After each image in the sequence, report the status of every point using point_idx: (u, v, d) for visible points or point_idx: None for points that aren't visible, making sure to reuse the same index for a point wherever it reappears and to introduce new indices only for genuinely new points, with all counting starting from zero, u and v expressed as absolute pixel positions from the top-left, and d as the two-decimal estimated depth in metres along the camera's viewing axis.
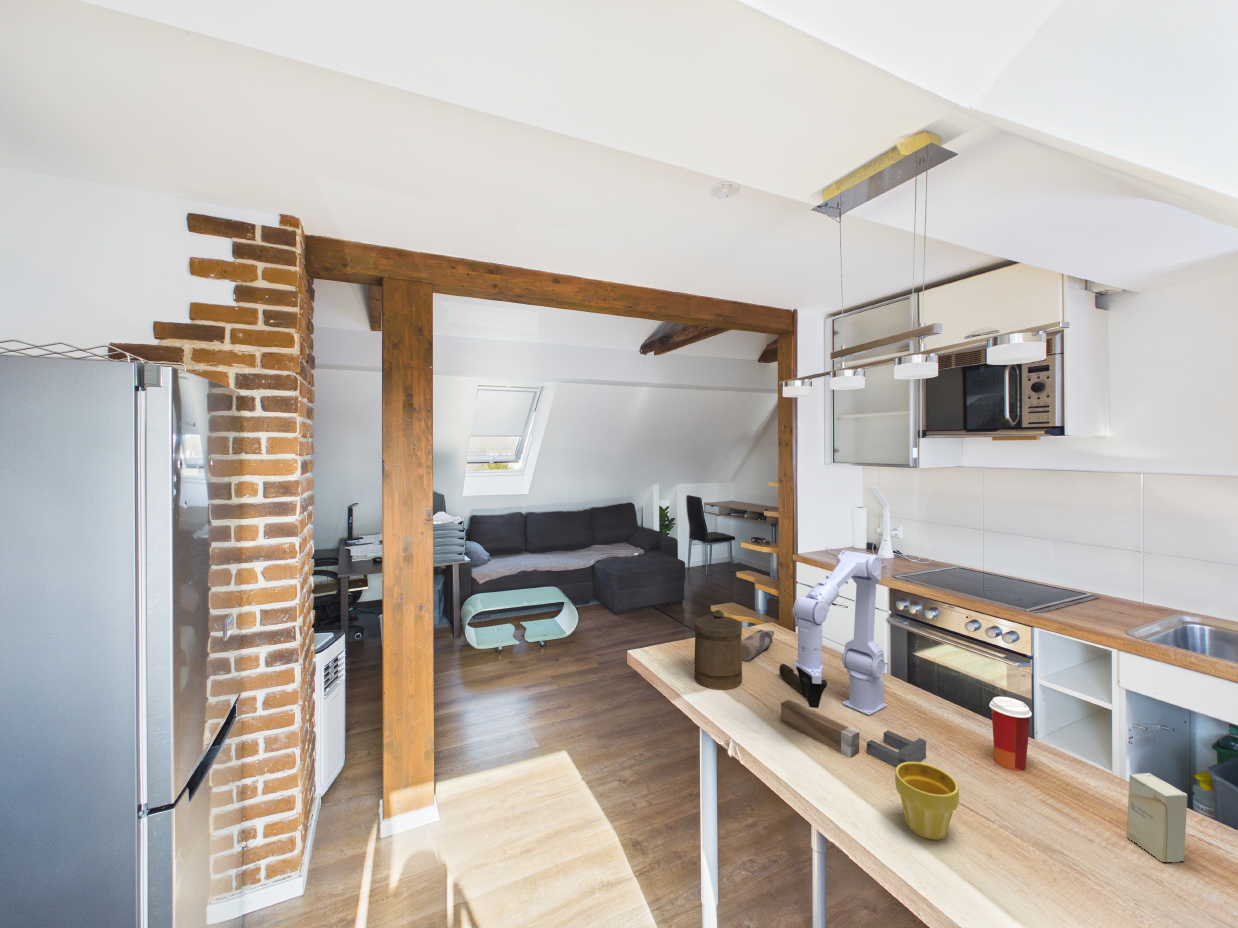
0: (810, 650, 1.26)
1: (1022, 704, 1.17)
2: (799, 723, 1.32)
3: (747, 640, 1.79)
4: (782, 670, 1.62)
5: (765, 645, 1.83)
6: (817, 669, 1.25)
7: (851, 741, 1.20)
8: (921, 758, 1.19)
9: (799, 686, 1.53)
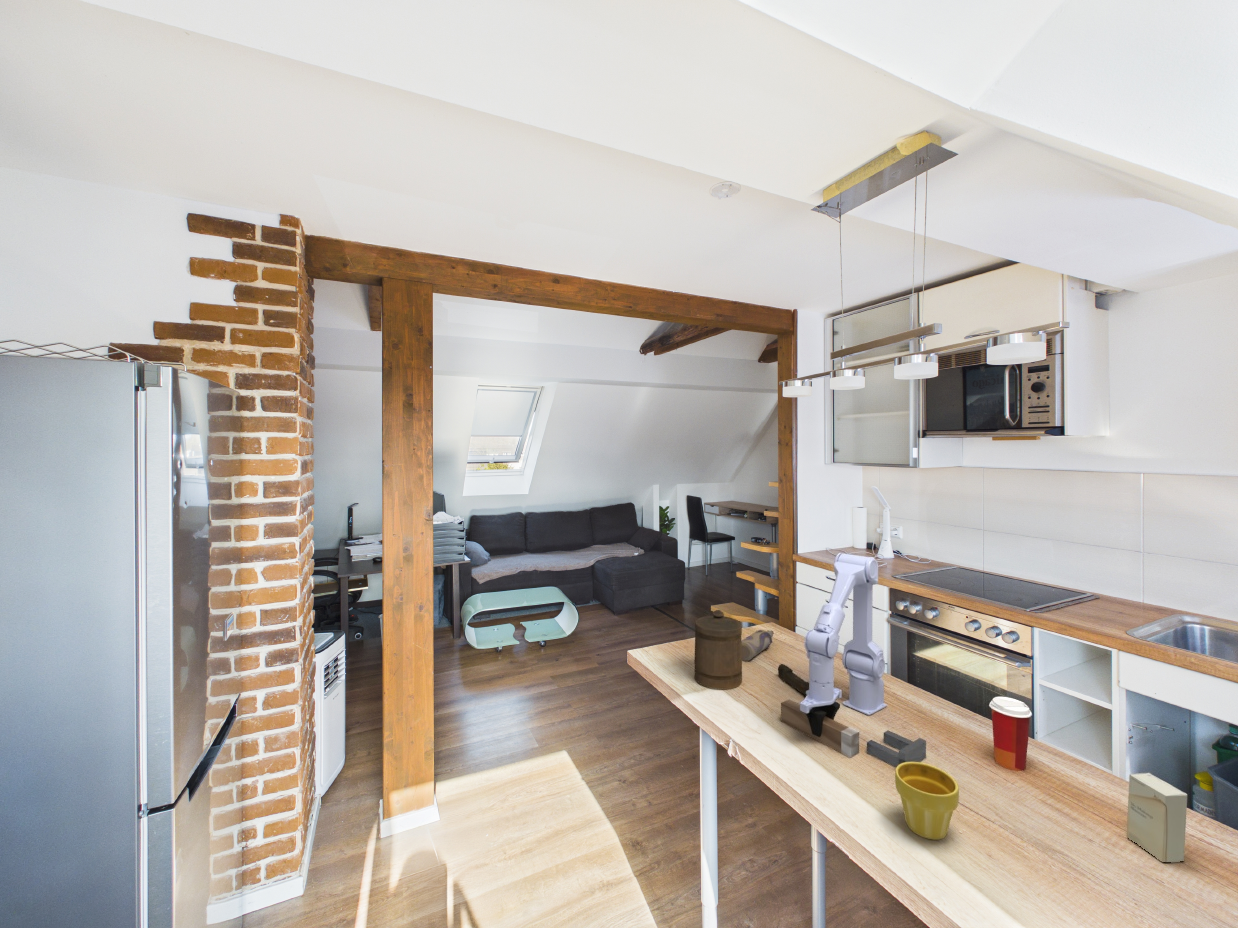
0: (812, 681, 1.27)
1: (1022, 704, 1.17)
2: (799, 723, 1.32)
3: (747, 640, 1.79)
4: (781, 670, 1.62)
5: (765, 645, 1.83)
6: (818, 702, 1.26)
7: (851, 741, 1.20)
8: (921, 758, 1.19)
9: (799, 686, 1.52)
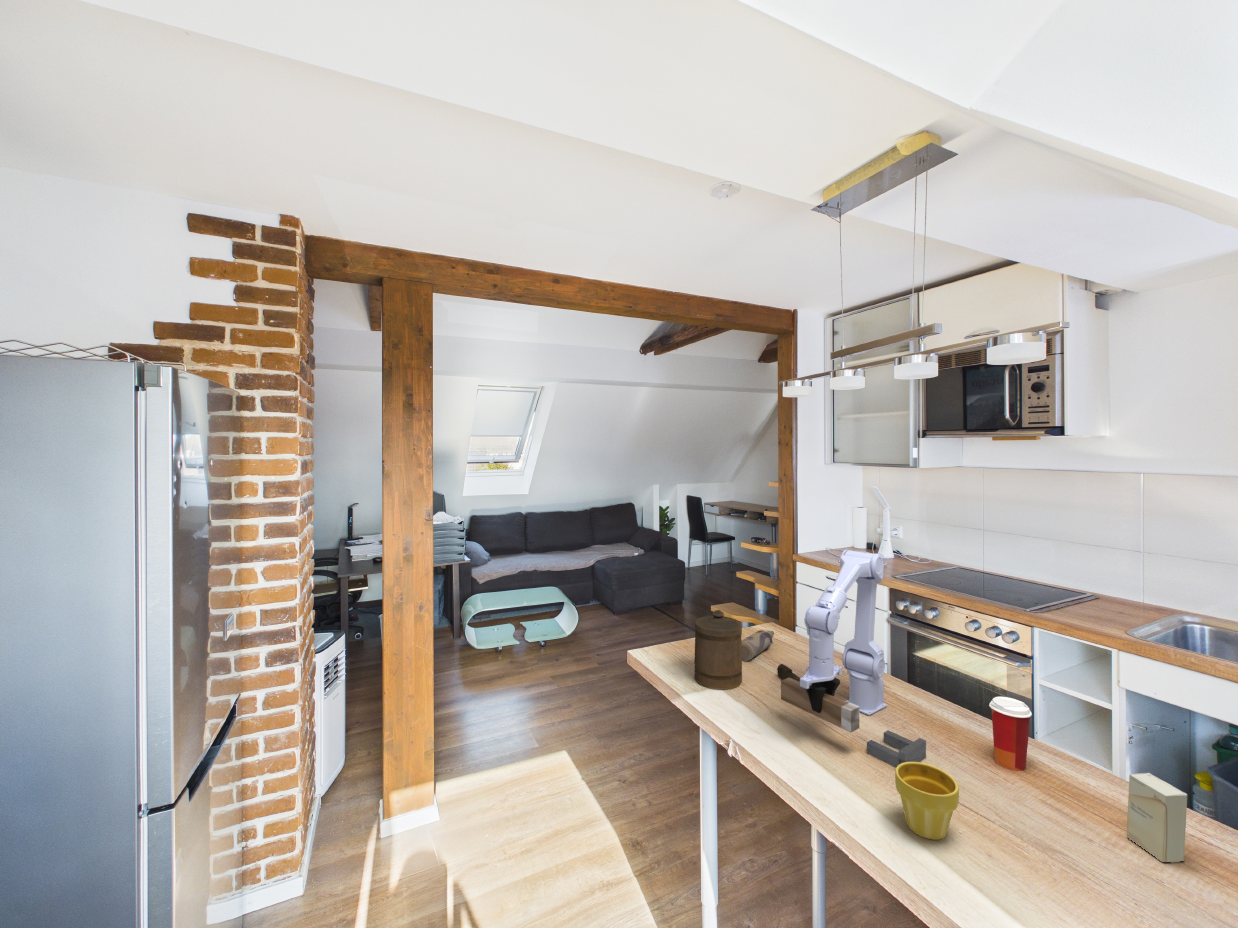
0: (812, 657, 1.27)
1: (1022, 704, 1.17)
2: (799, 700, 1.32)
3: (747, 640, 1.79)
4: (780, 670, 1.62)
5: (765, 645, 1.83)
6: (818, 678, 1.26)
7: (851, 716, 1.20)
8: (921, 758, 1.19)
9: None
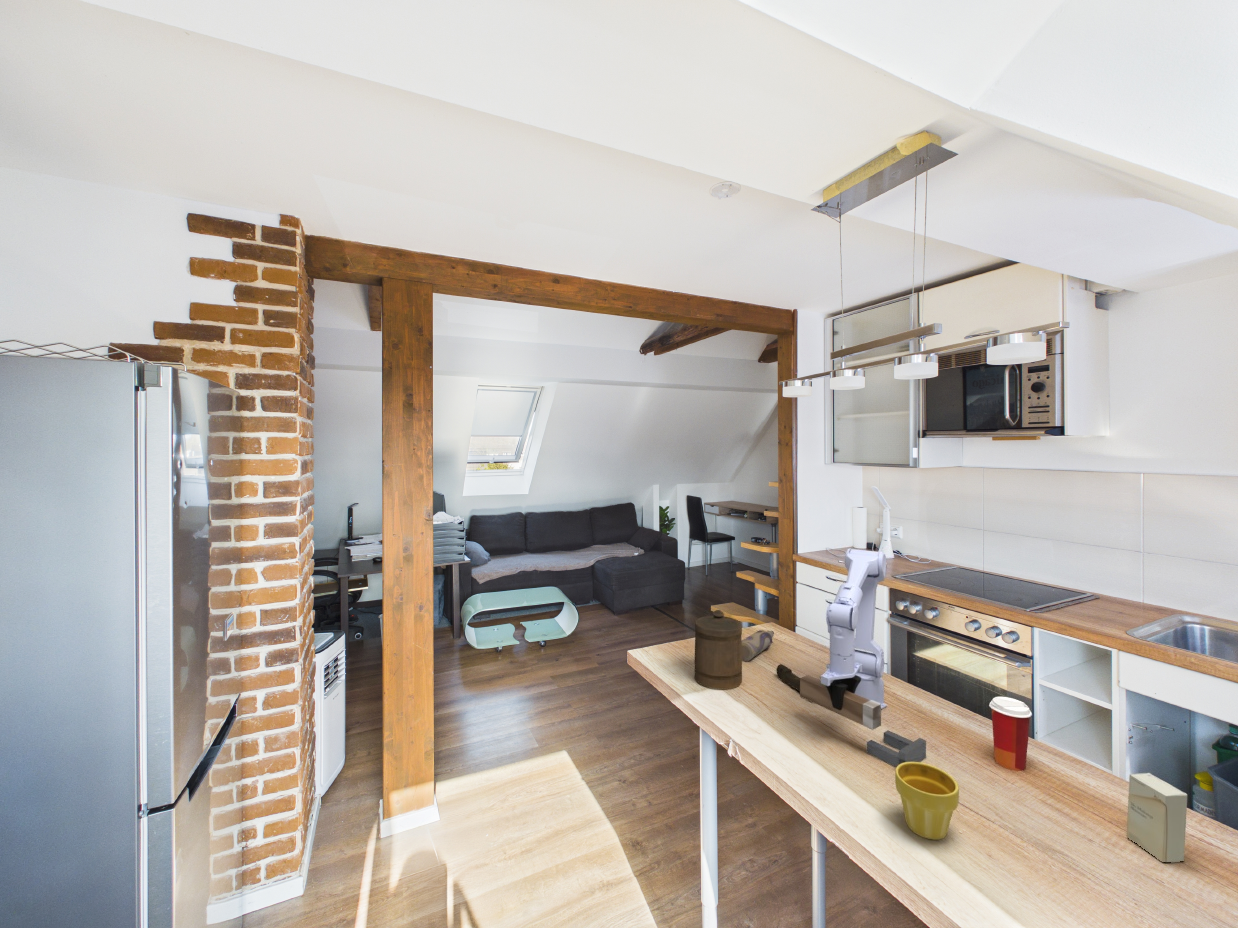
0: (833, 654, 1.27)
1: (1022, 704, 1.17)
2: (819, 698, 1.31)
3: (747, 640, 1.79)
4: (780, 671, 1.62)
5: (765, 645, 1.83)
6: (839, 675, 1.25)
7: (873, 713, 1.20)
8: (921, 758, 1.19)
9: (799, 686, 1.52)
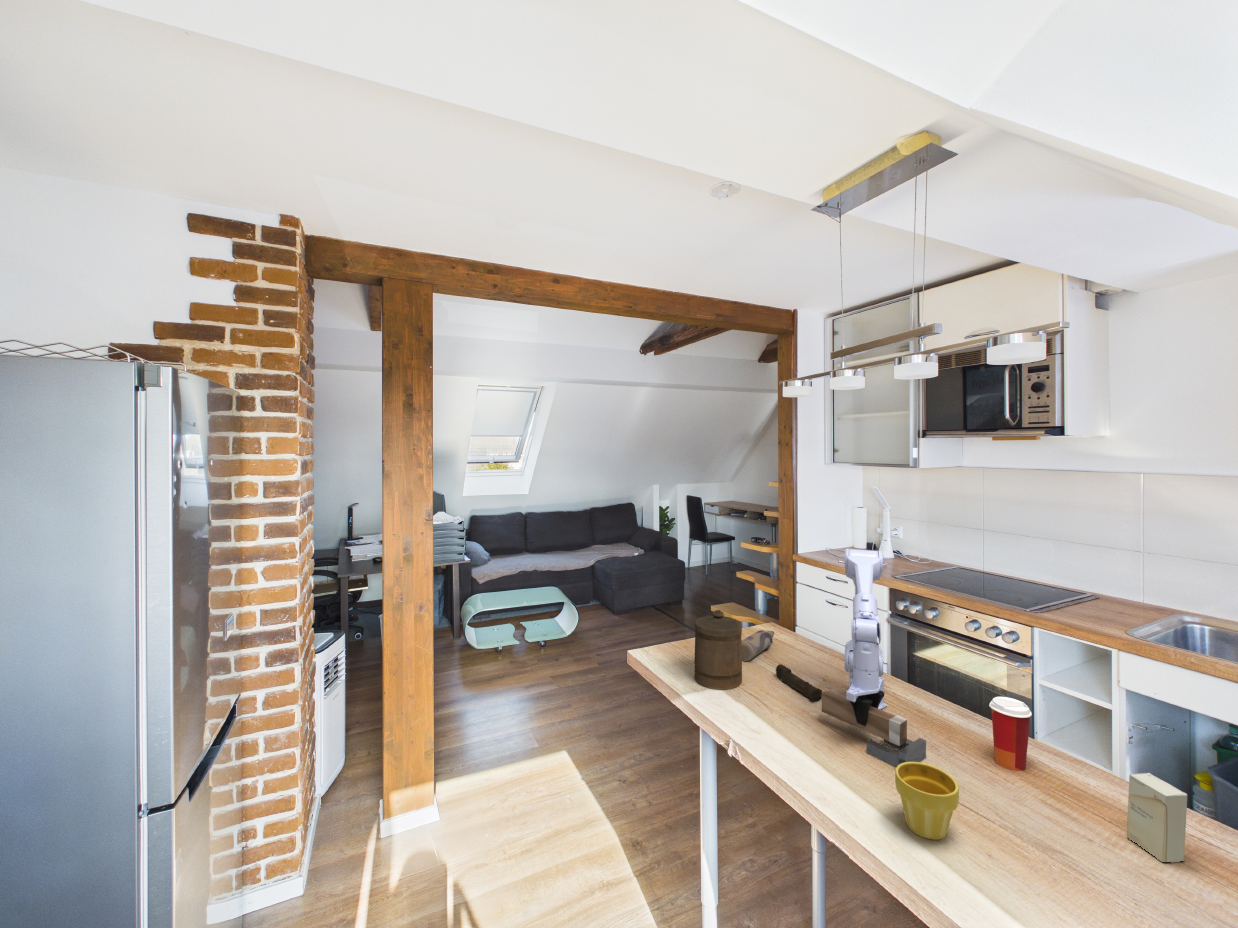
0: (858, 669, 1.26)
1: (1022, 704, 1.17)
2: (842, 713, 1.30)
3: (747, 640, 1.79)
4: (779, 671, 1.62)
5: (765, 645, 1.83)
6: (864, 690, 1.24)
7: (900, 729, 1.19)
8: (921, 758, 1.19)
9: (799, 686, 1.52)
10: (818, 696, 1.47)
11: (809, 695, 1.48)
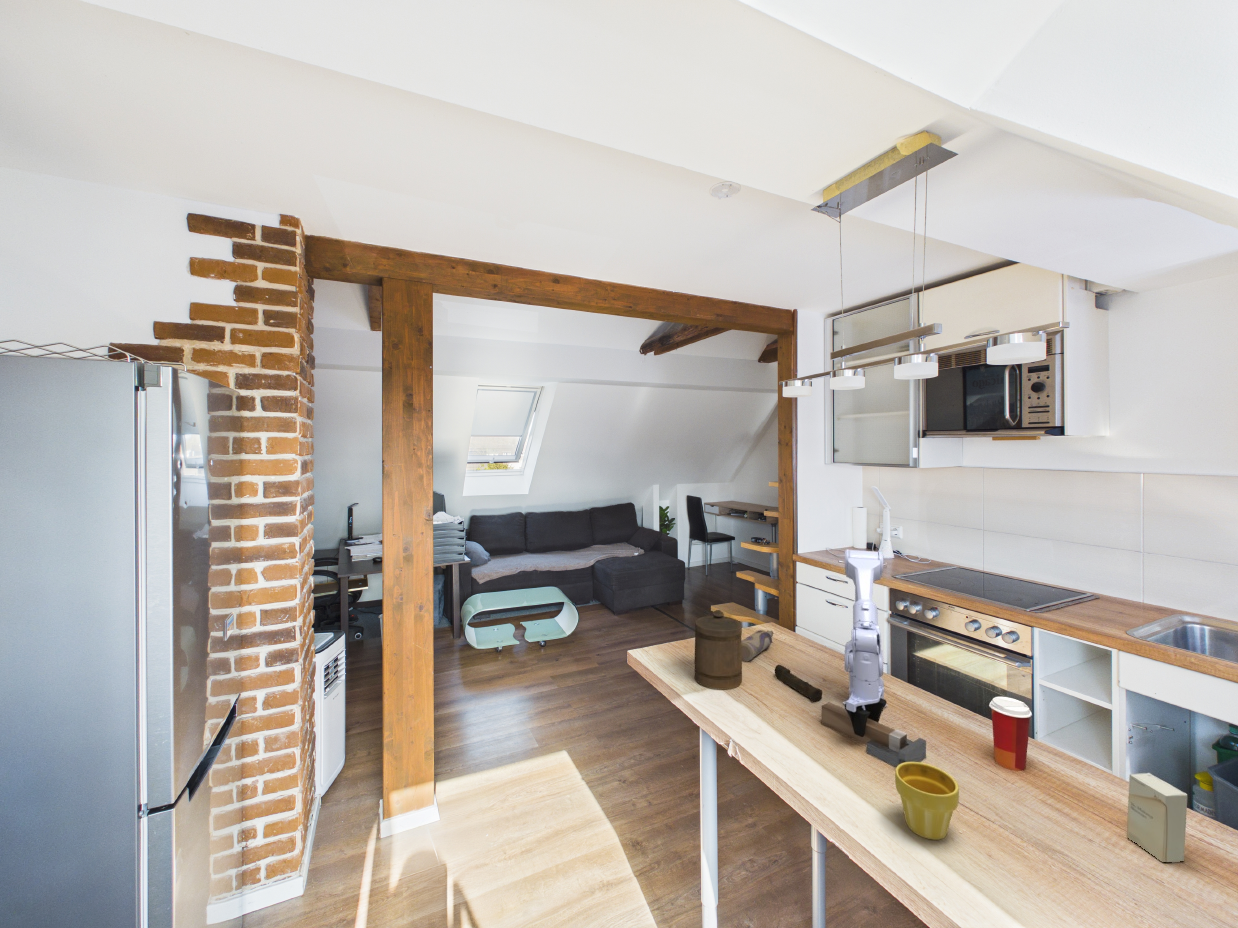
0: (858, 679, 1.26)
1: (1022, 704, 1.17)
2: (842, 726, 1.30)
3: (747, 640, 1.79)
4: (778, 671, 1.61)
5: (765, 645, 1.83)
6: (864, 700, 1.25)
7: (899, 743, 1.19)
8: (921, 758, 1.19)
9: (799, 686, 1.52)
10: (818, 696, 1.47)
11: (809, 695, 1.48)
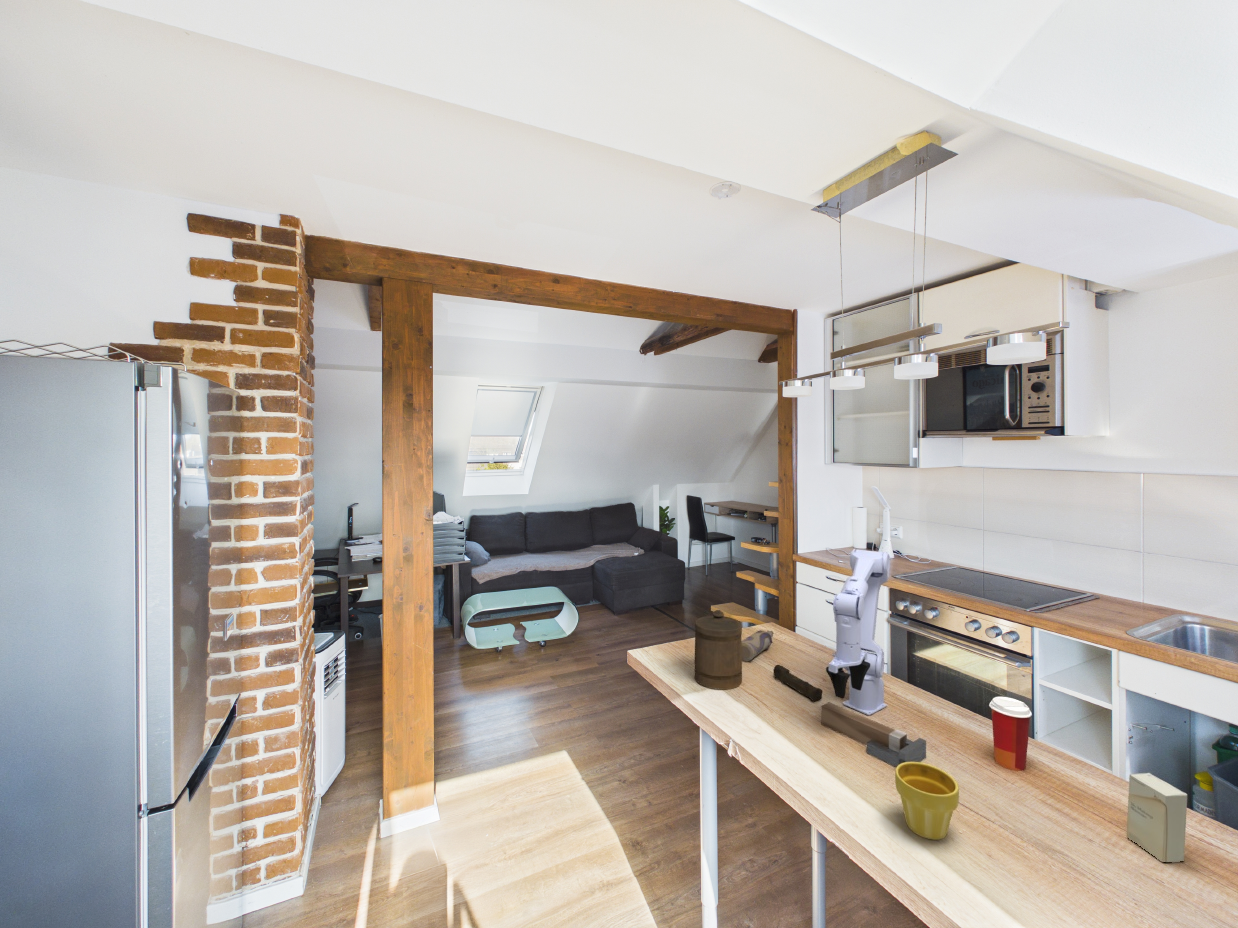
0: (840, 642, 1.30)
1: (1022, 704, 1.17)
2: (842, 726, 1.30)
3: (747, 641, 1.78)
4: (777, 671, 1.61)
5: (765, 645, 1.83)
6: (846, 662, 1.29)
7: (899, 743, 1.19)
8: (921, 758, 1.19)
9: (799, 686, 1.52)
10: (818, 695, 1.47)
11: (810, 695, 1.48)
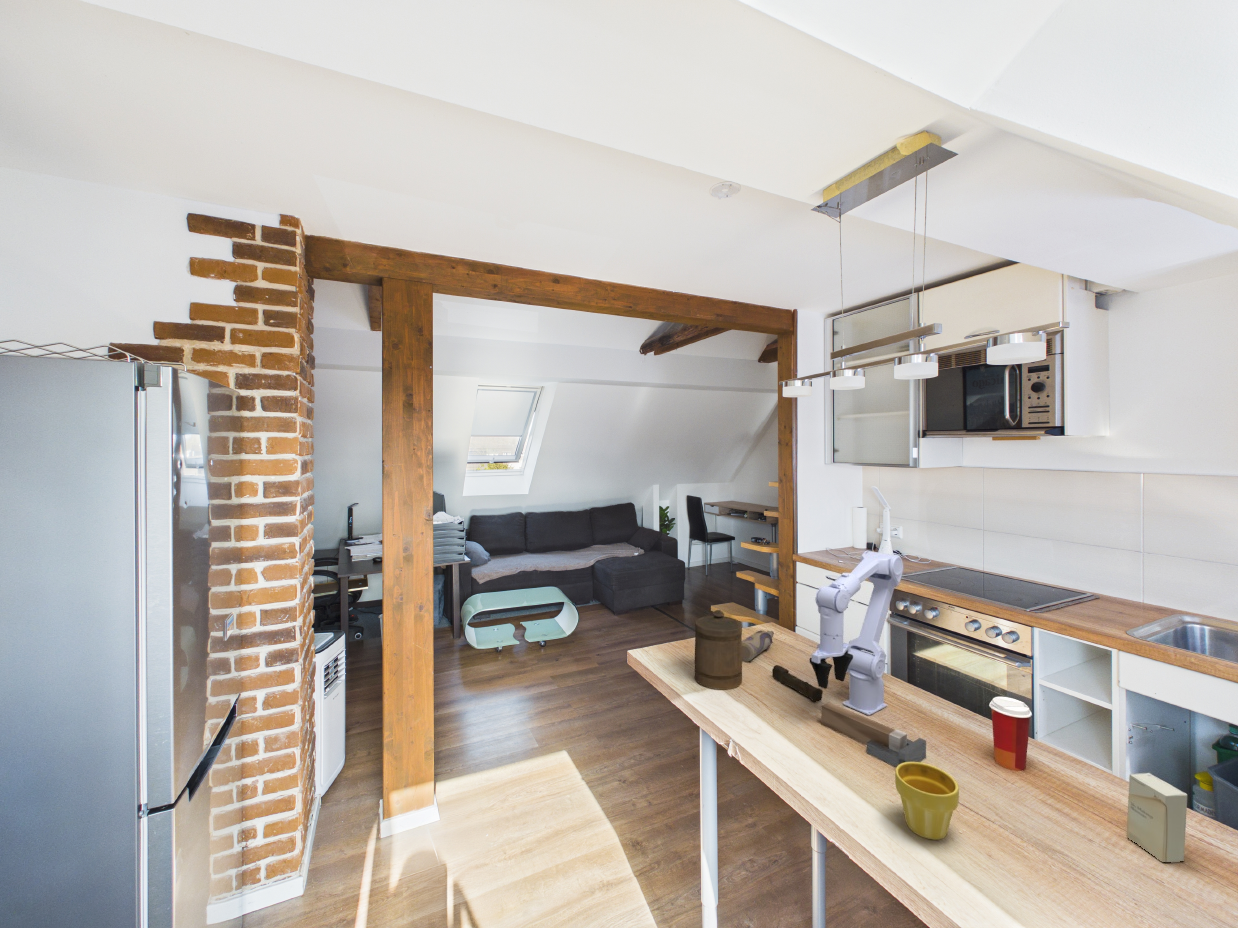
0: (823, 634, 1.35)
1: (1022, 704, 1.17)
2: (842, 726, 1.30)
3: (747, 641, 1.78)
4: (777, 671, 1.61)
5: (765, 646, 1.83)
6: (828, 653, 1.33)
7: (899, 743, 1.19)
8: (921, 758, 1.19)
9: (799, 687, 1.52)
10: (819, 696, 1.47)
11: (810, 695, 1.48)
